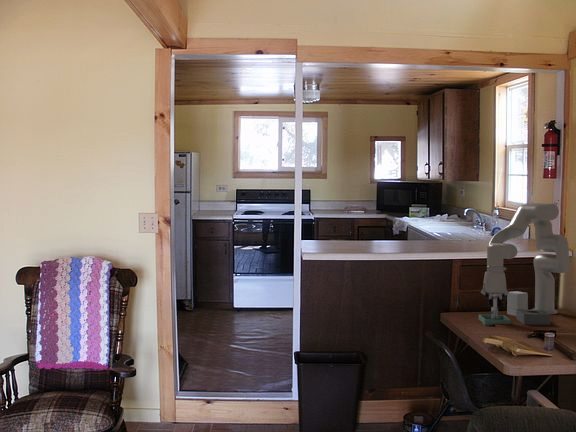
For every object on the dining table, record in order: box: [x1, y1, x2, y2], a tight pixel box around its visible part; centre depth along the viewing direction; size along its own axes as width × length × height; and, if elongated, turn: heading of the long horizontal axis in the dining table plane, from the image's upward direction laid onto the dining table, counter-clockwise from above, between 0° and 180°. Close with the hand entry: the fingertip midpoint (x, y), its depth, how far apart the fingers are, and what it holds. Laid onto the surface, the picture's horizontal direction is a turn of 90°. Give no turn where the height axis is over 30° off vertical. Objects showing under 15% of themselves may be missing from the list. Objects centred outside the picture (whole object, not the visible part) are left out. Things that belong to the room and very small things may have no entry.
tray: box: [478, 314, 512, 326], centre depth 271 cm, size 12×12×3 cm
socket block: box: [515, 308, 552, 326], centre depth 269 cm, size 12×12×6 cm
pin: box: [490, 293, 499, 320], centre depth 271 cm, size 4×4×12 cm
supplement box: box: [506, 290, 529, 317], centre depth 287 cm, size 7×7×13 cm
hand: (494, 306), depth 271 cm, fingers closed on pin, 3 cm apart
